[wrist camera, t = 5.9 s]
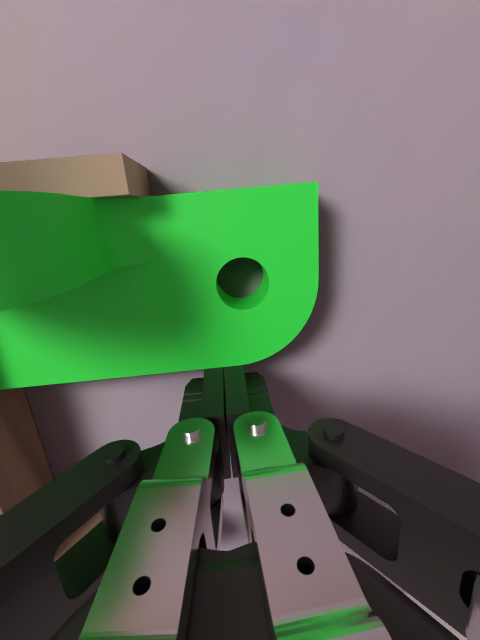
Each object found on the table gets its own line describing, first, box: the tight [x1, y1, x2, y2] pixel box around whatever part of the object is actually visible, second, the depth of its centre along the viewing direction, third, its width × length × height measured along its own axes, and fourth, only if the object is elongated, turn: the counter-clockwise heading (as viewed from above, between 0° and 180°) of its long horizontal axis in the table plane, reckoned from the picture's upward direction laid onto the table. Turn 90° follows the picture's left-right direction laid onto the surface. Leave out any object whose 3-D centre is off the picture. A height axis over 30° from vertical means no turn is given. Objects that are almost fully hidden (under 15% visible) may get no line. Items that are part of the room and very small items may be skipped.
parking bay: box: [0, 153, 151, 562], centre depth 11 cm, size 8×16×5 cm, turn 5°
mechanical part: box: [0, 182, 319, 390], centre depth 9 cm, size 12×6×8 cm, turn 95°
